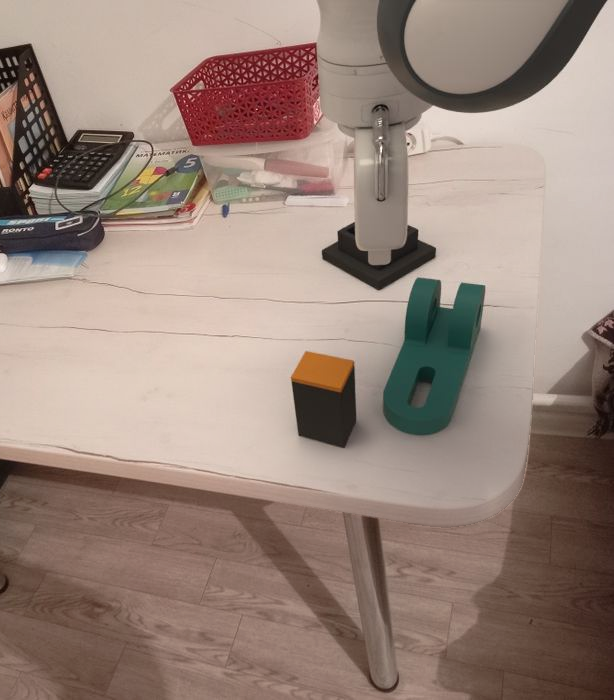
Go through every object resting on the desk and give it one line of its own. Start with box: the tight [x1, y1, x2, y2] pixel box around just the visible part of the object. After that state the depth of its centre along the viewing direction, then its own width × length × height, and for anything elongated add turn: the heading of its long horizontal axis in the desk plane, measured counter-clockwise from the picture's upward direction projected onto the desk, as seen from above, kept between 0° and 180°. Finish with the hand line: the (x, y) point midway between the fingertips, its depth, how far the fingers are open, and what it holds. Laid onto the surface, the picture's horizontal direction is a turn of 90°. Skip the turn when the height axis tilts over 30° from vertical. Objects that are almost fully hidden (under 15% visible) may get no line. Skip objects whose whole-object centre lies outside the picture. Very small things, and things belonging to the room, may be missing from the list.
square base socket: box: [321, 221, 437, 291], centre depth 85 cm, size 11×10×4 cm
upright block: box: [290, 350, 357, 449], centre depth 64 cm, size 5×4×9 cm
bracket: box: [382, 277, 486, 436], centre depth 66 cm, size 18×7×8 cm, turn 148°
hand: (378, 227), depth 57 cm, fingers open, 8 cm apart
